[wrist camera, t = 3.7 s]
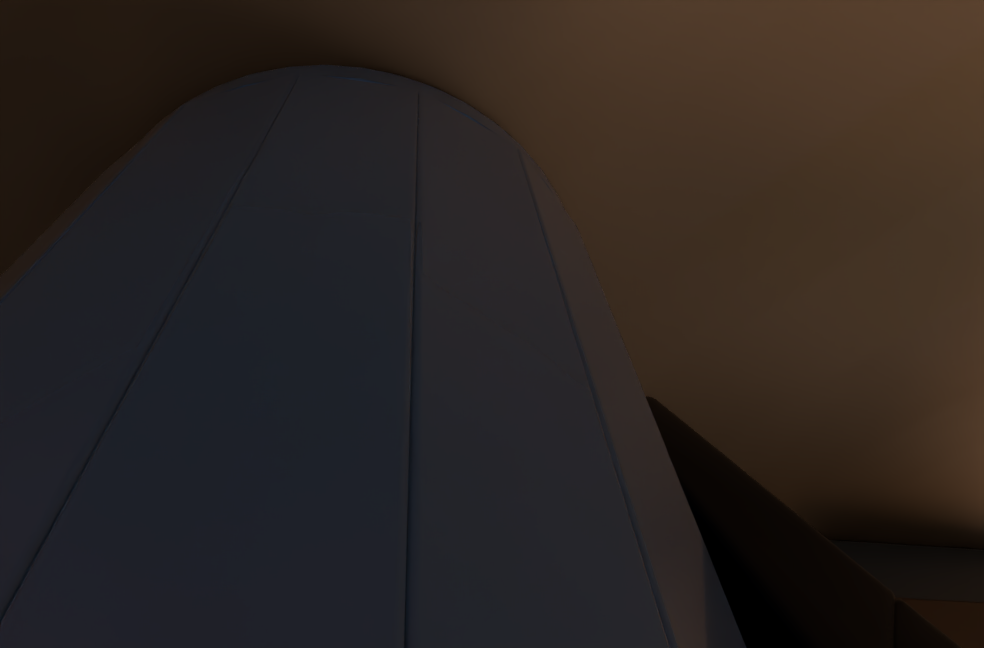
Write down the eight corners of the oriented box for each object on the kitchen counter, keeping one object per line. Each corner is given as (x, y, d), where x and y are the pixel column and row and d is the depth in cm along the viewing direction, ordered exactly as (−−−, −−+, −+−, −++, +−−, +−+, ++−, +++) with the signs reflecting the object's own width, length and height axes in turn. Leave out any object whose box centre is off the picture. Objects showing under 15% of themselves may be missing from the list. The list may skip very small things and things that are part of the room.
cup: (534, 500, 12) (655, 1215, 6) (114, 471, 11) (-288, 1278, 5) (633, 104, 9) (1122, 706, 3) (64, 22, 8) (-1175, 630, 2)
